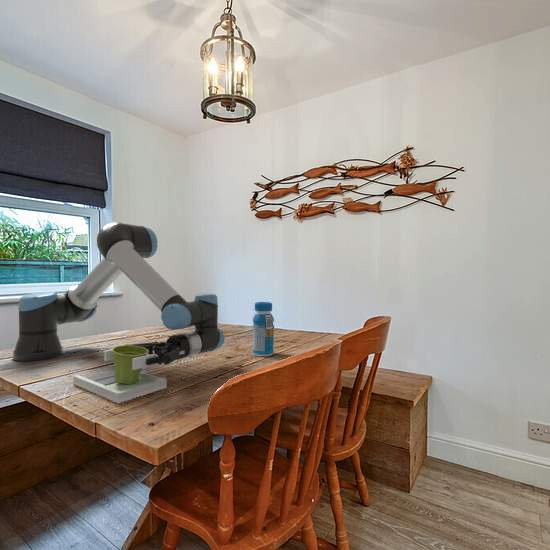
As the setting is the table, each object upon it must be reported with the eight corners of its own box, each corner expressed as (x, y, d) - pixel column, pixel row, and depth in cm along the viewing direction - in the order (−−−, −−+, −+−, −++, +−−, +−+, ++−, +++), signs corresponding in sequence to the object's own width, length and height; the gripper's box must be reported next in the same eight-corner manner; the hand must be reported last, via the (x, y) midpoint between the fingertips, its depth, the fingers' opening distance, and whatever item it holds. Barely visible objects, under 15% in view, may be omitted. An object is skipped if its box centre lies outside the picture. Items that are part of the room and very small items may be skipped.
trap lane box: (73, 384, 96) (73, 376, 96) (120, 372, 108) (120, 364, 108) (118, 403, 83) (118, 393, 83) (166, 387, 94) (166, 379, 94)
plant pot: (134, 372, 102) (138, 343, 101) (151, 383, 95) (155, 352, 95) (102, 377, 94) (106, 346, 94) (117, 389, 88) (122, 356, 88)
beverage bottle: (251, 356, 128) (251, 303, 128) (252, 351, 137) (253, 301, 137) (273, 357, 128) (274, 303, 128) (274, 351, 137) (274, 301, 136)
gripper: (211, 364, 100) (146, 383, 83) (158, 351, 114) (94, 366, 97) (211, 338, 100) (146, 352, 82) (158, 329, 114) (94, 339, 97)
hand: (118, 359), depth 90 cm, fingers open, 13 cm apart
